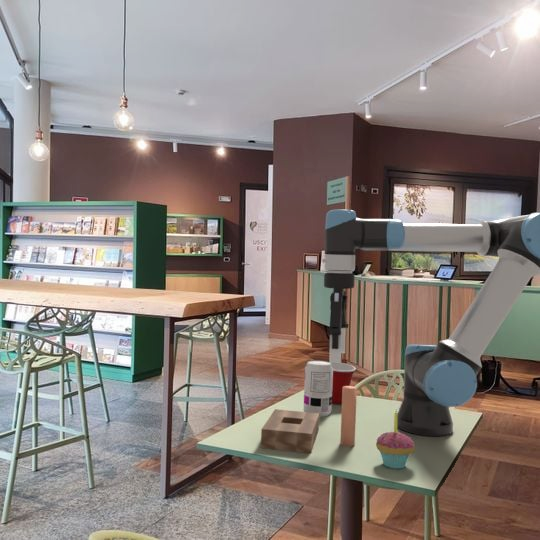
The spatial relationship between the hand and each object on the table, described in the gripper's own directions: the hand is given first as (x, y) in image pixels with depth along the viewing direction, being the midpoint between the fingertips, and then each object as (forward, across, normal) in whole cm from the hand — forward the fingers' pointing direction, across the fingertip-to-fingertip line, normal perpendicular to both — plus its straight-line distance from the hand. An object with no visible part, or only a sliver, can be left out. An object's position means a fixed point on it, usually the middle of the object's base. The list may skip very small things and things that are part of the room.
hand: (337, 357), depth 135 cm
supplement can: (+21, -24, -8) cm, 33 cm away
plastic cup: (+21, -39, -3) cm, 44 cm away
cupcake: (+22, +12, +14) cm, 28 cm away
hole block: (+21, +1, -11) cm, 24 cm away
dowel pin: (+21, +1, +3) cm, 21 cm away
